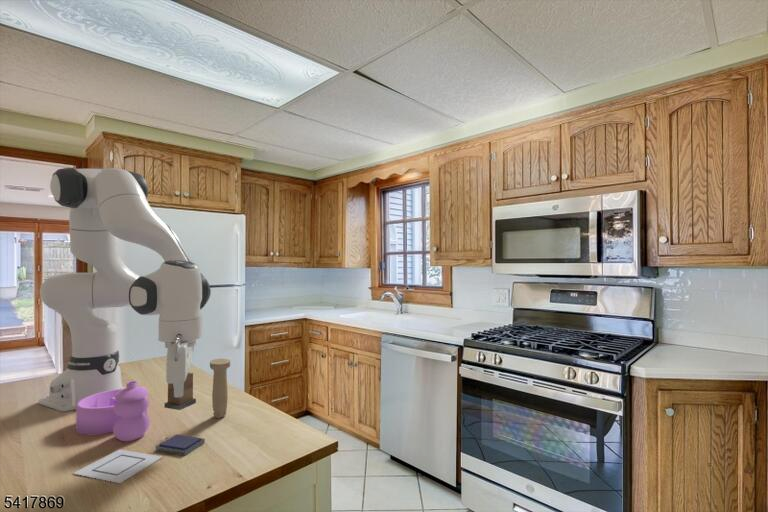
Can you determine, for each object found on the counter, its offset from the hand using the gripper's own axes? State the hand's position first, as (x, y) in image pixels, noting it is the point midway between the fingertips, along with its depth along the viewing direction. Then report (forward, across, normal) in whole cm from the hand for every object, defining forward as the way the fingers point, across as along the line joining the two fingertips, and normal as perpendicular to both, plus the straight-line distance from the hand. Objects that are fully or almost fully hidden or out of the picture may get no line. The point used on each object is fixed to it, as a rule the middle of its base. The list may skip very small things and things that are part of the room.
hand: (180, 391), depth 88 cm
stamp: (+3, 0, 0) cm, 3 cm away
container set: (+13, +19, +16) cm, 28 cm away
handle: (+13, +15, -8) cm, 22 cm away
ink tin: (+13, 0, 0) cm, 13 cm away
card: (+13, -4, +11) cm, 17 cm away
